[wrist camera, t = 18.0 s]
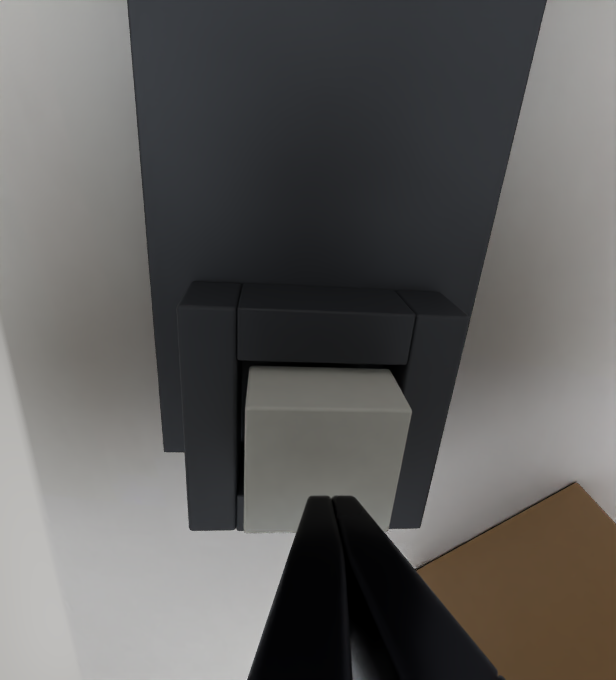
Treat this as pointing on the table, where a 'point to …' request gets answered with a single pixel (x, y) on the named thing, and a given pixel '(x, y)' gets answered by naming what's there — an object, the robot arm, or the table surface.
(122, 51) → the table surface
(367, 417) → the keypad key
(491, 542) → the carton
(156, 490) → the table surface
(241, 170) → the dark grey holder
